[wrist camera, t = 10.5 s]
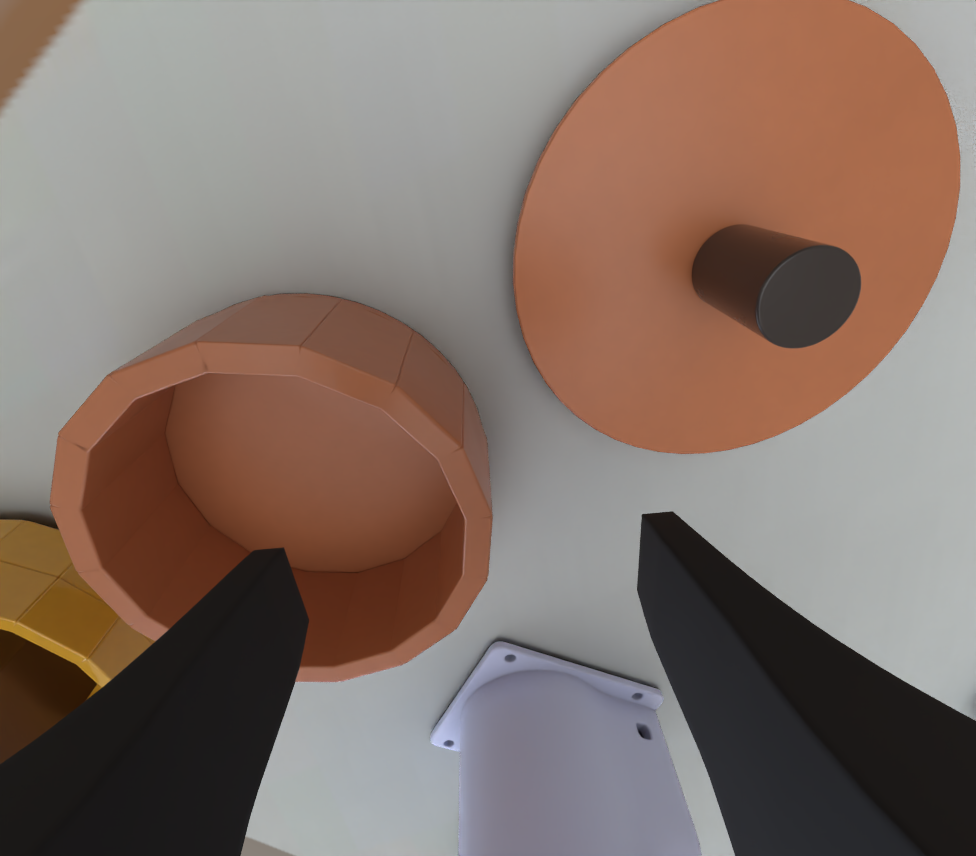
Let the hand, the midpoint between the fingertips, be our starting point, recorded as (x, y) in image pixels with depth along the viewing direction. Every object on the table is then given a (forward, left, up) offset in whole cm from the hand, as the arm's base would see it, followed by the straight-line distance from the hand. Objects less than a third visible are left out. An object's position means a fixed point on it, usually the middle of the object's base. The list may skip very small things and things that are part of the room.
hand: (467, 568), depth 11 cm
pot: (+4, +5, -9) cm, 11 cm away
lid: (-5, -7, -8) cm, 12 cm away
